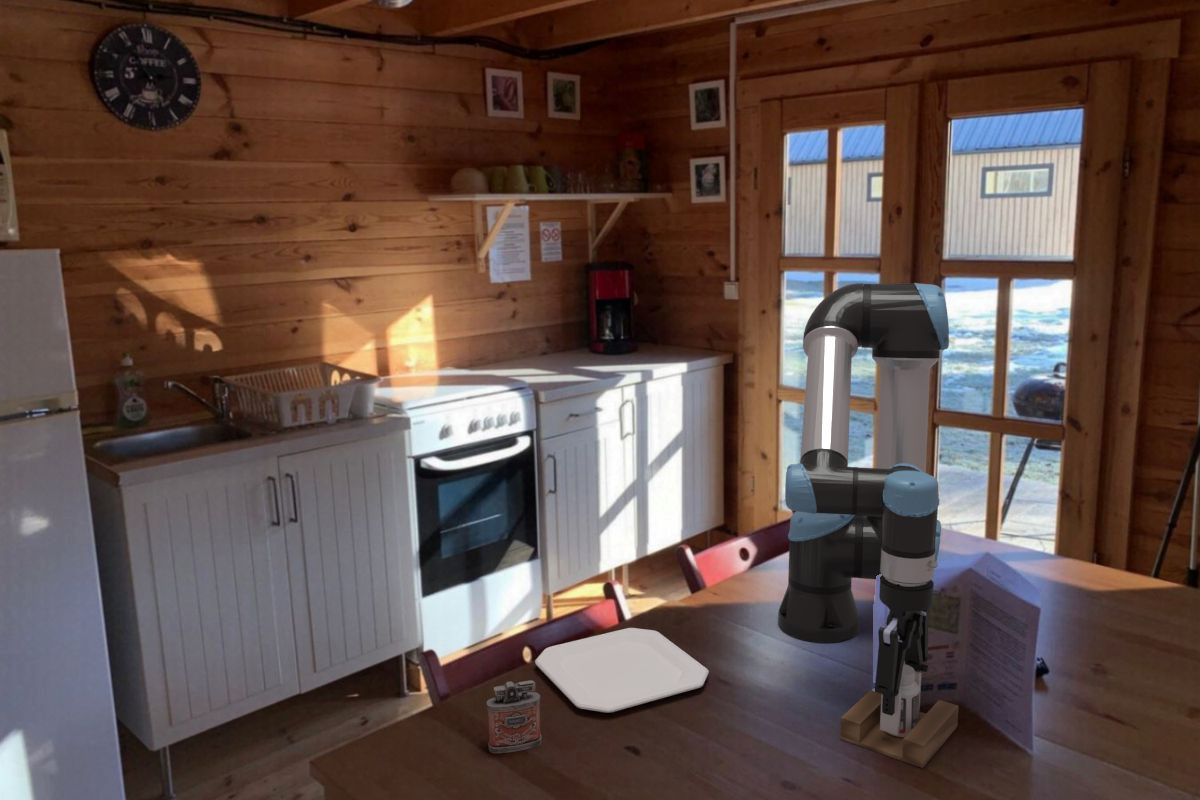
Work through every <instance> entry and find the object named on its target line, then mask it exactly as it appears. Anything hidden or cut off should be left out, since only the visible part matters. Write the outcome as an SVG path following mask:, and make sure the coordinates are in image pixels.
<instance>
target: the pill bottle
mask: <svg viewBox="0 0 1200 800" xmlns="http://www.w3.org/2000/svg"><path fill="white" fill-rule="evenodd" d="M914 680H915V670H914V669H913V668H912V667H911V666H909V665H906V664H905V663H904V665H903V670H902V676H901V681H900V687H899V692H900V693H901V713H900V733H899V734H898V736H897V735H894V734H892V733H889V732H887V733H888V734H890V735H893V736H897V737H906V735H907V734H908V733H909V732H910V731H911V730H912V729H913V728H914V727H915V726H916V725H917V723H918V722H919V712H920V710H919V686H918V684H917V683H916V682H915V681H914Z"/></svg>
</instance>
